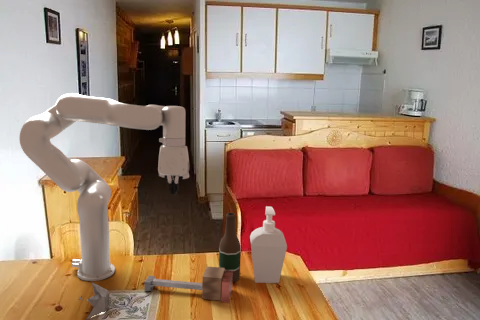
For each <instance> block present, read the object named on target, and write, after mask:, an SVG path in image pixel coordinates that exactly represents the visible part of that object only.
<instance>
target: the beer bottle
mask: <svg viewBox="0 0 480 320" xmlns="http://www.w3.org/2000/svg"><path fill="white" fill-rule="evenodd" d="M225 218H226V220H225V230H224V235H223V237H221V239H220V241H219V247H218V267H219V268H225V271H226V270H230V271H233V279H232V283H235V282H237V281H238V280H239V279H240V278H241V277H240V275H241V259H242V258H241V257H242V255H241V253H242V250H241V249H242V247H241V246H242V245H241V242H240V240H239V238H238V236H237V232H236V231H237V228H236V227H237V226H236V218H237V215H236V213H234V212H227V213H226V215H225Z"/></svg>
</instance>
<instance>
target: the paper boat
mask: <svg viewBox="0 0 480 320" xmlns="http://www.w3.org/2000/svg"><path fill="white" fill-rule="evenodd" d="M91 285H92V289H93V290H92V291H93V294H94V295H92V296H91V297H89V298H87V299H86V301H87V302H88V303H89V304H90V305H91V306H92V307H93V308H92V310H91V311H90V312H89V314H88V315H87V318H86V319H85V320H91V319H92V318H91V317H92V316H94V315H97V314H99V313H101V312H105V311H106V310H107V311H108V309H109V306H110V303H111V299H110V292H109V289H106V288H104V287H102V286H101V285H98V284H96V283H94V281H91ZM82 296H83V295H81V296H80V297H79V298H78V300H80V301H83V298H82ZM107 311H106V312H107ZM90 318H91V319H90Z"/></svg>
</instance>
